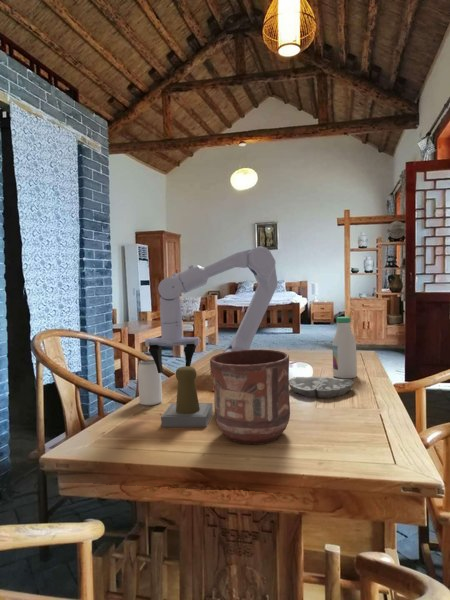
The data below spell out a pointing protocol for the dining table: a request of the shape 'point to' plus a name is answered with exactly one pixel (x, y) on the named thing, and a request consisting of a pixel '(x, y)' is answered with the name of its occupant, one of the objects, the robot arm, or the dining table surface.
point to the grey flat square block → (187, 417)
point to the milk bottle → (344, 350)
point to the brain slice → (320, 386)
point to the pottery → (251, 394)
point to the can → (149, 383)
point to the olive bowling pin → (186, 391)
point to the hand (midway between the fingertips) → (174, 372)
